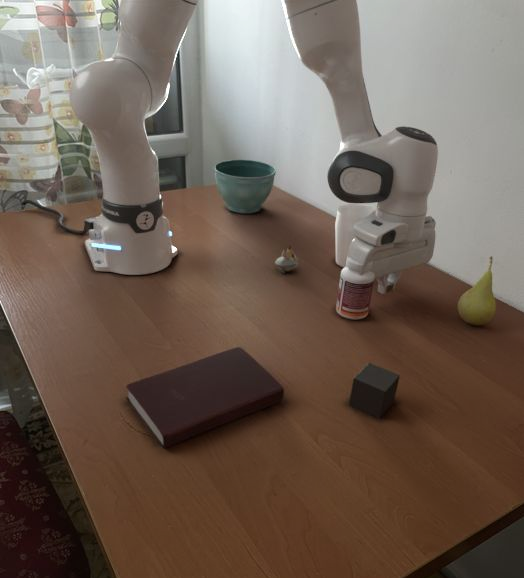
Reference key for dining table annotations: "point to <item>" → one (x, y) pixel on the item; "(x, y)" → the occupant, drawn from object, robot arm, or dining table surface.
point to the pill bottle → (355, 290)
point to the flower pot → (244, 184)
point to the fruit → (478, 301)
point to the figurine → (286, 261)
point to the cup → (347, 228)
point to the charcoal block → (374, 390)
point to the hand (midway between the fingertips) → (385, 291)
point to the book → (203, 395)
